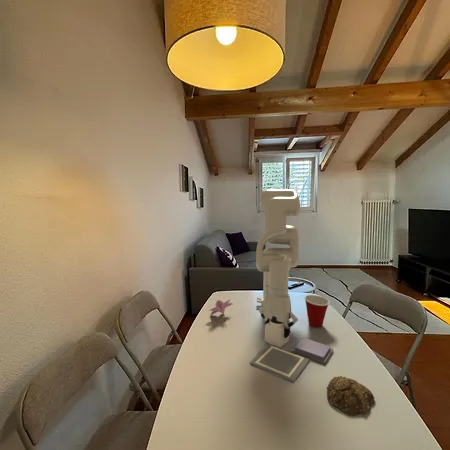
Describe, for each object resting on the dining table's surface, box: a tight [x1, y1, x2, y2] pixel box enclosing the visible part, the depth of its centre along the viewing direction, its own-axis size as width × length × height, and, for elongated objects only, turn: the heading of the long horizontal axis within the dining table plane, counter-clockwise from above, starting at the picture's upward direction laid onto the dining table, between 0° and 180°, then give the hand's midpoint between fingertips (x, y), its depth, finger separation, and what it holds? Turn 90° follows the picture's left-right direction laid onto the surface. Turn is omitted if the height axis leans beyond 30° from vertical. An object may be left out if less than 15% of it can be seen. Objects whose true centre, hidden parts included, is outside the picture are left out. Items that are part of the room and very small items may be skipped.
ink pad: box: [291, 337, 334, 365], centre depth 103 cm, size 12×10×2 cm
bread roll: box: [326, 375, 375, 417], centre depth 80 cm, size 13×12×5 cm
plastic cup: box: [304, 294, 331, 329], centre depth 124 cm, size 11×11×12 cm
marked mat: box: [249, 344, 311, 383], centre depth 97 cm, size 16×14×1 cm
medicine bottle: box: [264, 316, 290, 349], centre depth 110 cm, size 7×7×12 cm
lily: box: [208, 299, 234, 322], centre depth 131 cm, size 12×12×10 cm
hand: (277, 333), depth 110 cm, fingers closed on medicine bottle, 7 cm apart
